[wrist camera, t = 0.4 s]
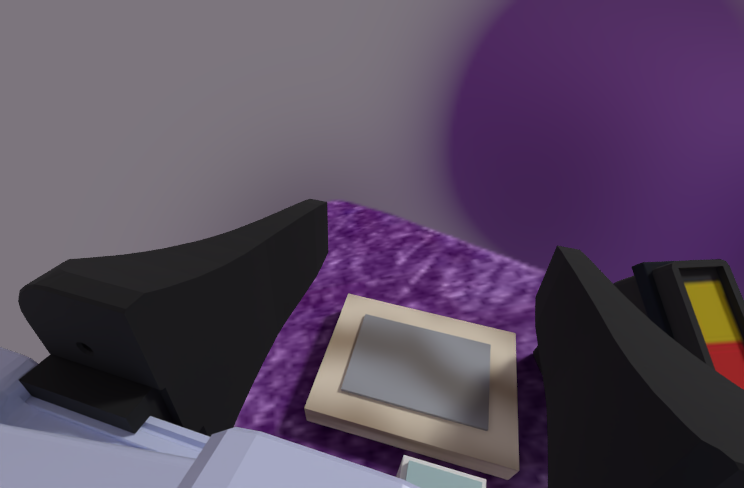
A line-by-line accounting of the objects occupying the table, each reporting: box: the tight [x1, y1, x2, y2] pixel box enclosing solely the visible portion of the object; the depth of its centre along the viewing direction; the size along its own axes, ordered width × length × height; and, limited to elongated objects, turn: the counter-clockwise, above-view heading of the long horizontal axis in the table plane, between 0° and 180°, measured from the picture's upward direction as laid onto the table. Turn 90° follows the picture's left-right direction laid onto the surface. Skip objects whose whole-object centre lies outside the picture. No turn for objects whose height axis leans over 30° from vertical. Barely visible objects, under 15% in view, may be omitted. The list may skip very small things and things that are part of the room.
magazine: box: [533, 259, 744, 390], centre depth 23 cm, size 4×13×15 cm, turn 6°
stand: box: [304, 294, 519, 480], centre depth 28 cm, size 10×14×2 cm
